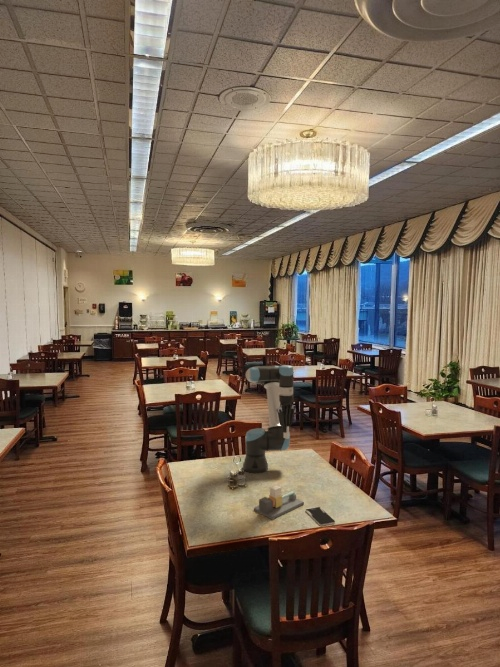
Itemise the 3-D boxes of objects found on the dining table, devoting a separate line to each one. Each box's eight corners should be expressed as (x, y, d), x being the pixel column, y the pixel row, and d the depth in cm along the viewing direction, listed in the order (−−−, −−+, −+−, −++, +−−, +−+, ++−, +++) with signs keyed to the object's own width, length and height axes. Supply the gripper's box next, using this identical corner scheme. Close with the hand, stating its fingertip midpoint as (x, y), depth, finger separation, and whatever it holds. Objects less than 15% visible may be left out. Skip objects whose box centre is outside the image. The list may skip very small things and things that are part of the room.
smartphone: (320, 524, 180) (304, 508, 194) (320, 527, 180) (304, 511, 194) (335, 521, 182) (319, 506, 197) (335, 524, 183) (319, 509, 197)
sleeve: (269, 504, 196) (269, 487, 196) (275, 501, 199) (275, 484, 199) (276, 507, 193) (276, 490, 193) (282, 505, 196) (282, 487, 195)
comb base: (254, 510, 195) (254, 497, 195) (285, 496, 210) (285, 483, 209) (271, 519, 186) (271, 505, 186) (303, 504, 201) (303, 491, 200)
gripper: (282, 397, 212) (283, 442, 213) (299, 393, 220) (299, 437, 222) (272, 395, 217) (272, 439, 219) (289, 391, 226) (289, 434, 227)
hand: (286, 438), depth 220 cm, fingers closed
